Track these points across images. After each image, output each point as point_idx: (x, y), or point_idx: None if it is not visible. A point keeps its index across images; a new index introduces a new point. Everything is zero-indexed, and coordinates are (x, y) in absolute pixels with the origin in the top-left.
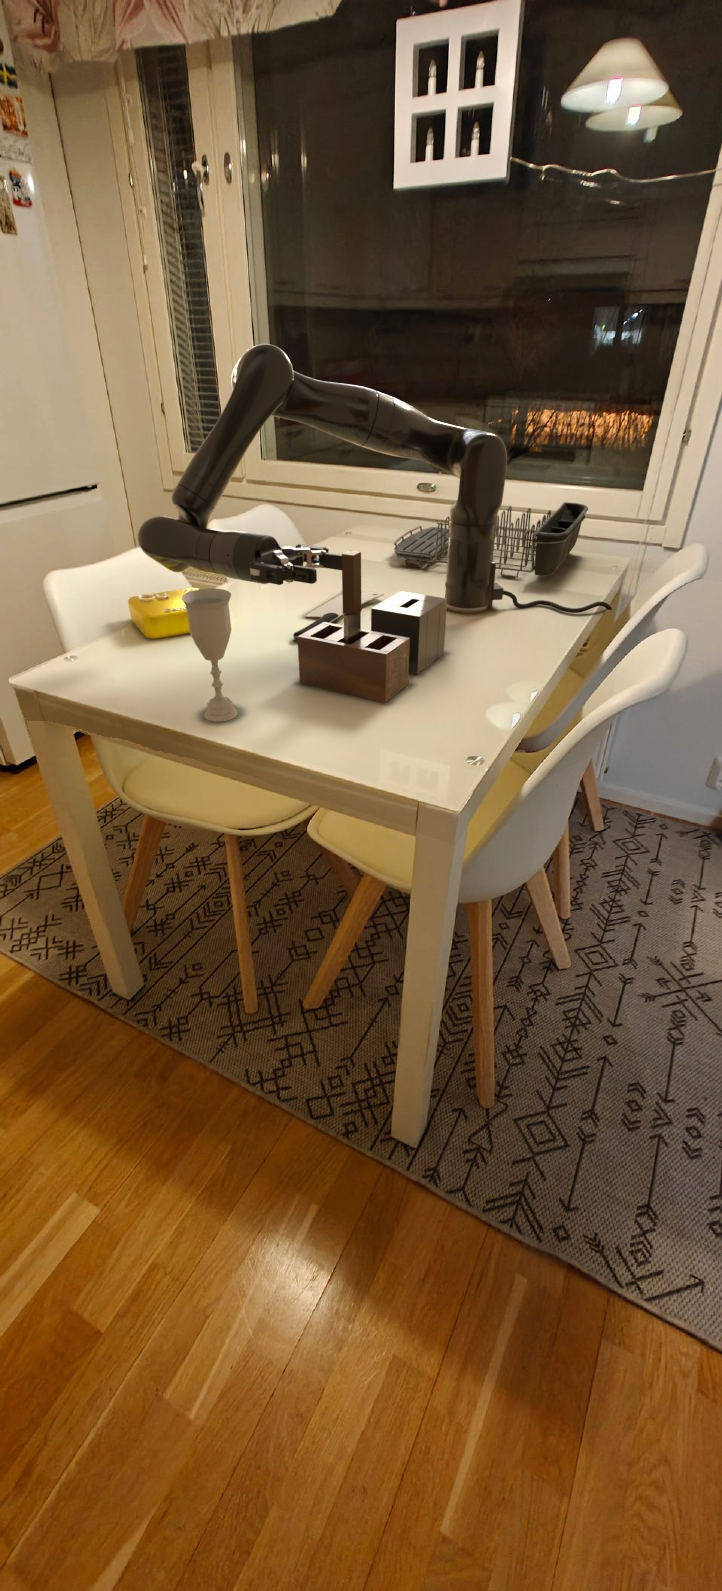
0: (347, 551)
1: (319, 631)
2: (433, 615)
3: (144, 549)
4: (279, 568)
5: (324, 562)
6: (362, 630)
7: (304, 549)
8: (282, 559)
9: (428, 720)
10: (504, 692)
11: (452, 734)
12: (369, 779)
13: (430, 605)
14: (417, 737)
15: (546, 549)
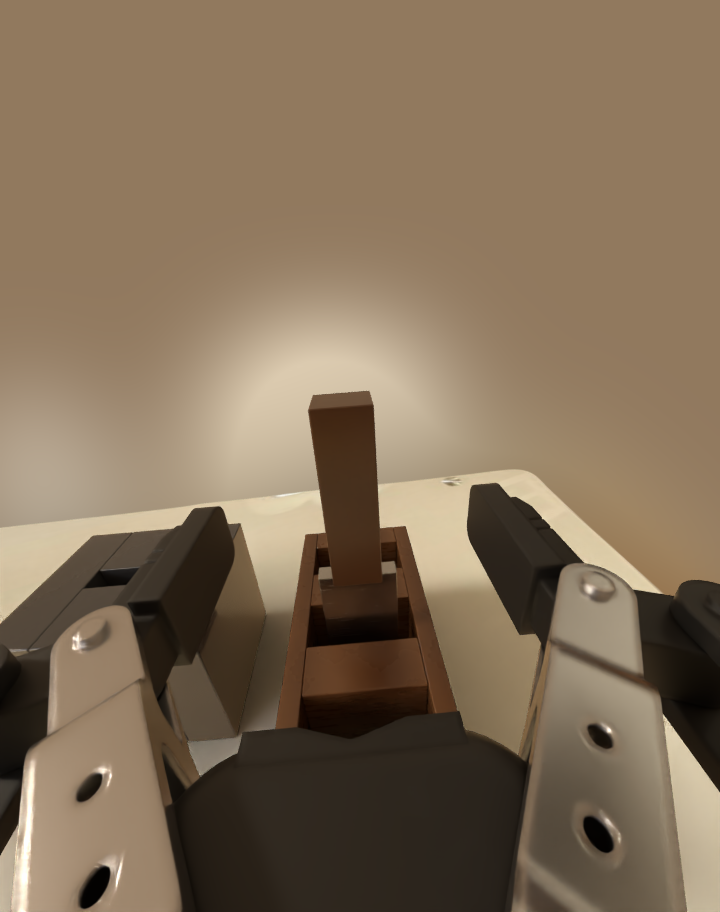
0: (330, 407)
1: None
2: None
3: None
4: (716, 586)
5: (185, 634)
6: (302, 628)
7: (140, 736)
8: (627, 677)
9: (412, 534)
10: (289, 511)
11: (423, 507)
12: (573, 517)
13: (153, 537)
14: (458, 525)
15: None
